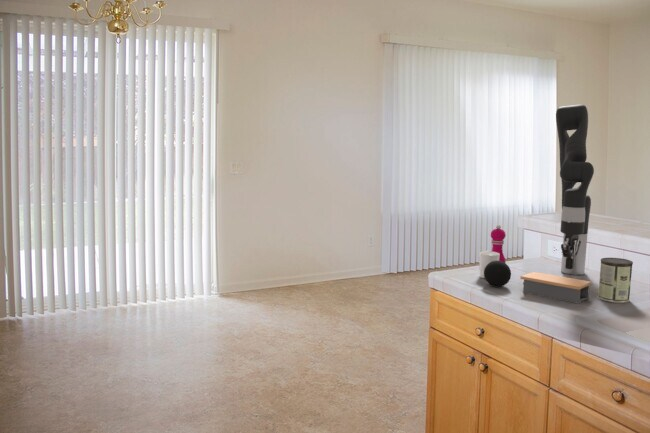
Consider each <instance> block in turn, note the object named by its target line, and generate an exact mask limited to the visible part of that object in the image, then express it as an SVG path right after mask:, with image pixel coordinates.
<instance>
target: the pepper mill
mask: <svg viewBox="0 0 650 433" xmlns="http://www.w3.org/2000/svg"><path fill="white" fill-rule="evenodd" d="M506 236H507V235H506V231H505V230H503V229H502V226H501V225H499V224H497V225H496V228H495V229H492V231H490V237H491V244H492V249H491V251H492V252H497V253H499V254H500V256H499V261H502V262H504V263H506V257H505V255H504V253H503V245H504V244H505V243H504V242H505V241H504V240H505V238H506Z"/></svg>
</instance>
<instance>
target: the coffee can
mask: <svg viewBox="0 0 650 433" xmlns="http://www.w3.org/2000/svg"><path fill="white" fill-rule="evenodd" d="M633 263H634V262H633V260H630V259H627V258H619V257H602V258H600V272H599V280H598V281H599V284H598V293H597V294H598V295H597V298H598V299H600V300H601V301H605V302H608V303H617V304H623V303H625V304H626V303H628V302H630V298H631V297H630V294H631V284H632V283H631V282H632V274H633Z"/></svg>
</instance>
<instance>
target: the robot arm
mask: <svg viewBox="0 0 650 433" xmlns="http://www.w3.org/2000/svg"><path fill="white" fill-rule="evenodd" d="M555 112H556V113H555V122H556V128H557V130H556V131H557V137H558V138H557V139H558V146H559V168H560V169H559V177H560V180H561V218H560V229H559V230H560V233H562V234H563V239H562V243H561V244H560V249H561V266H560V272H561V273H563V274H567V275H575V276H579V275H580V276H581V275H585V269H586V257H587V256H586V255H587V244H588V232H589V222H590V213H591V206H592V199H591V196H590V195H588V194H587V193H588V190H589V187H590V184H591V181H592V179H593V176H594V173H595V169H594V166H593V164H592V163H591V162H589V161H587V158H588V157H587V136H588V128H589V127H588V126H589V112H588V108H587V106H586V105H585V104H572V105H563V106H560V107H558V108H557V109H556V111H555ZM574 130H575V131H574ZM568 131H574V132H573V133H572V134H571V135H569V133H568ZM577 183H580V184H579V185H578V186H577V187H575V185H577Z"/></svg>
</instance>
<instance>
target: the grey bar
mask: <svg viewBox="0 0 650 433" xmlns="http://www.w3.org/2000/svg"><path fill="white" fill-rule="evenodd" d="M522 284H523V286H524V281H523V282H522ZM580 297H582V298H587V297H588V298H589V296H588V292H586V291H580ZM588 298H587V299H588Z"/></svg>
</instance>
